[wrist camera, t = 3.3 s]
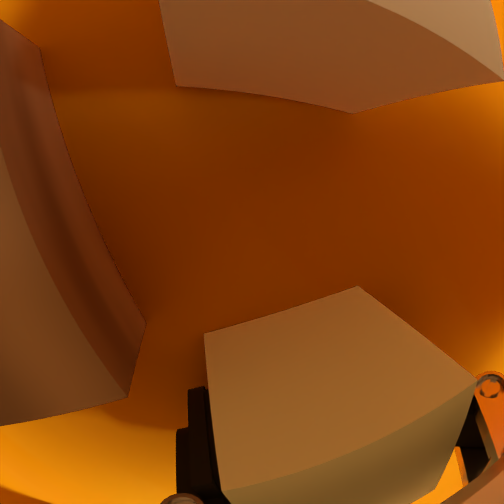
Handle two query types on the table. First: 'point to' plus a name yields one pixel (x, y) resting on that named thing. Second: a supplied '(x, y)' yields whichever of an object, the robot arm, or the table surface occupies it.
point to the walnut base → (53, 263)
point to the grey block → (333, 48)
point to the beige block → (332, 405)
